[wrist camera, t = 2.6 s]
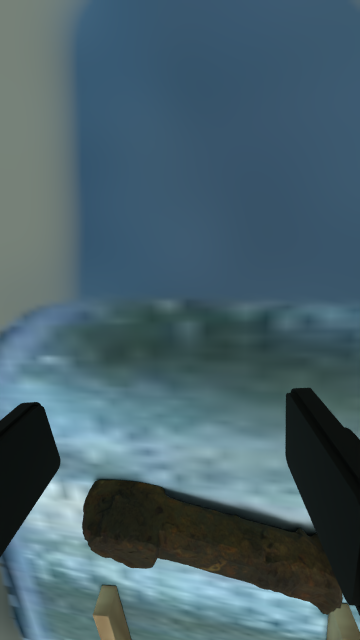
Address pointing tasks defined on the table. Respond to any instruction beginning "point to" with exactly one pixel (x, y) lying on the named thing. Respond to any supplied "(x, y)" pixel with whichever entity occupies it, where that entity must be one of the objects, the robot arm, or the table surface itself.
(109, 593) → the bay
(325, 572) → the dark brown log
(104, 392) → the table surface
